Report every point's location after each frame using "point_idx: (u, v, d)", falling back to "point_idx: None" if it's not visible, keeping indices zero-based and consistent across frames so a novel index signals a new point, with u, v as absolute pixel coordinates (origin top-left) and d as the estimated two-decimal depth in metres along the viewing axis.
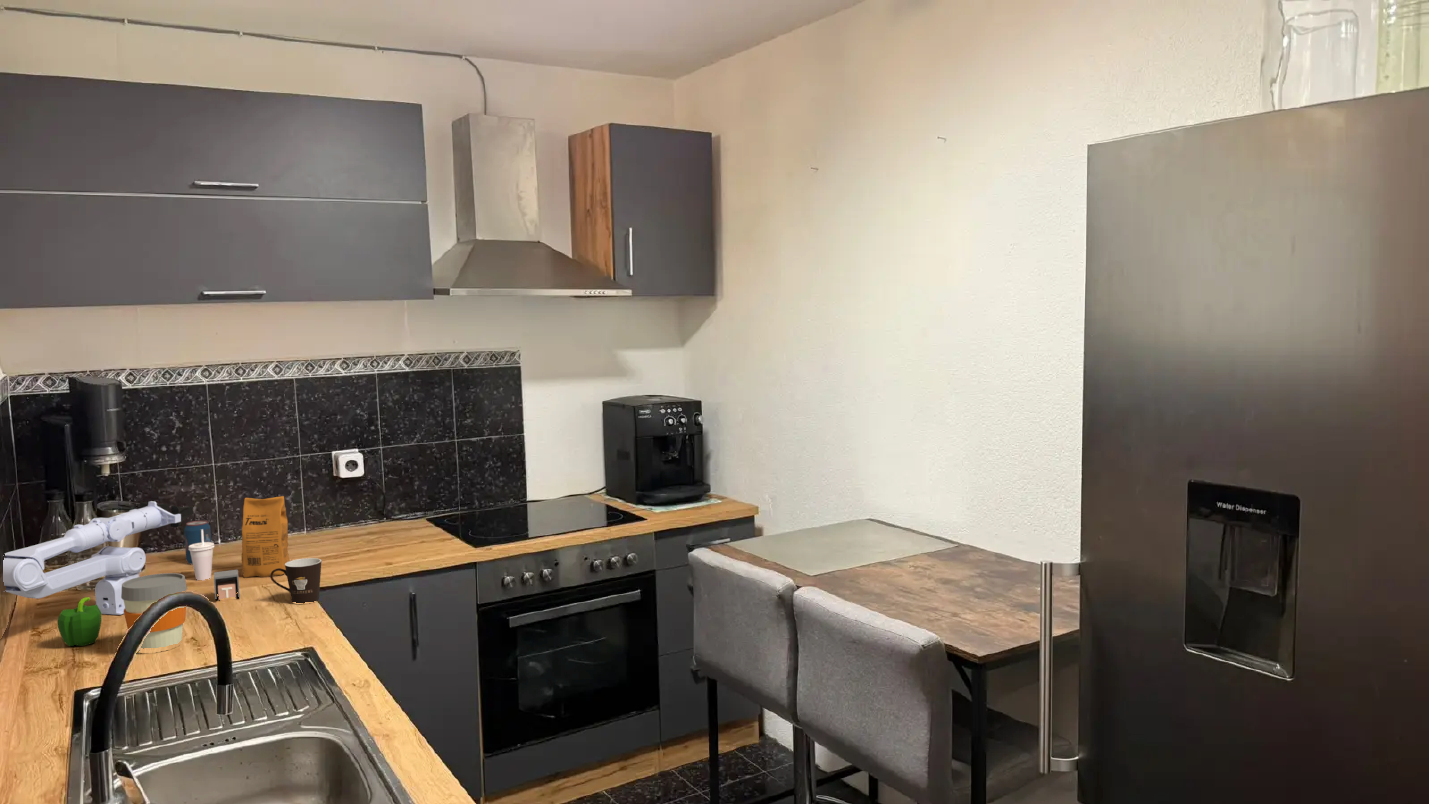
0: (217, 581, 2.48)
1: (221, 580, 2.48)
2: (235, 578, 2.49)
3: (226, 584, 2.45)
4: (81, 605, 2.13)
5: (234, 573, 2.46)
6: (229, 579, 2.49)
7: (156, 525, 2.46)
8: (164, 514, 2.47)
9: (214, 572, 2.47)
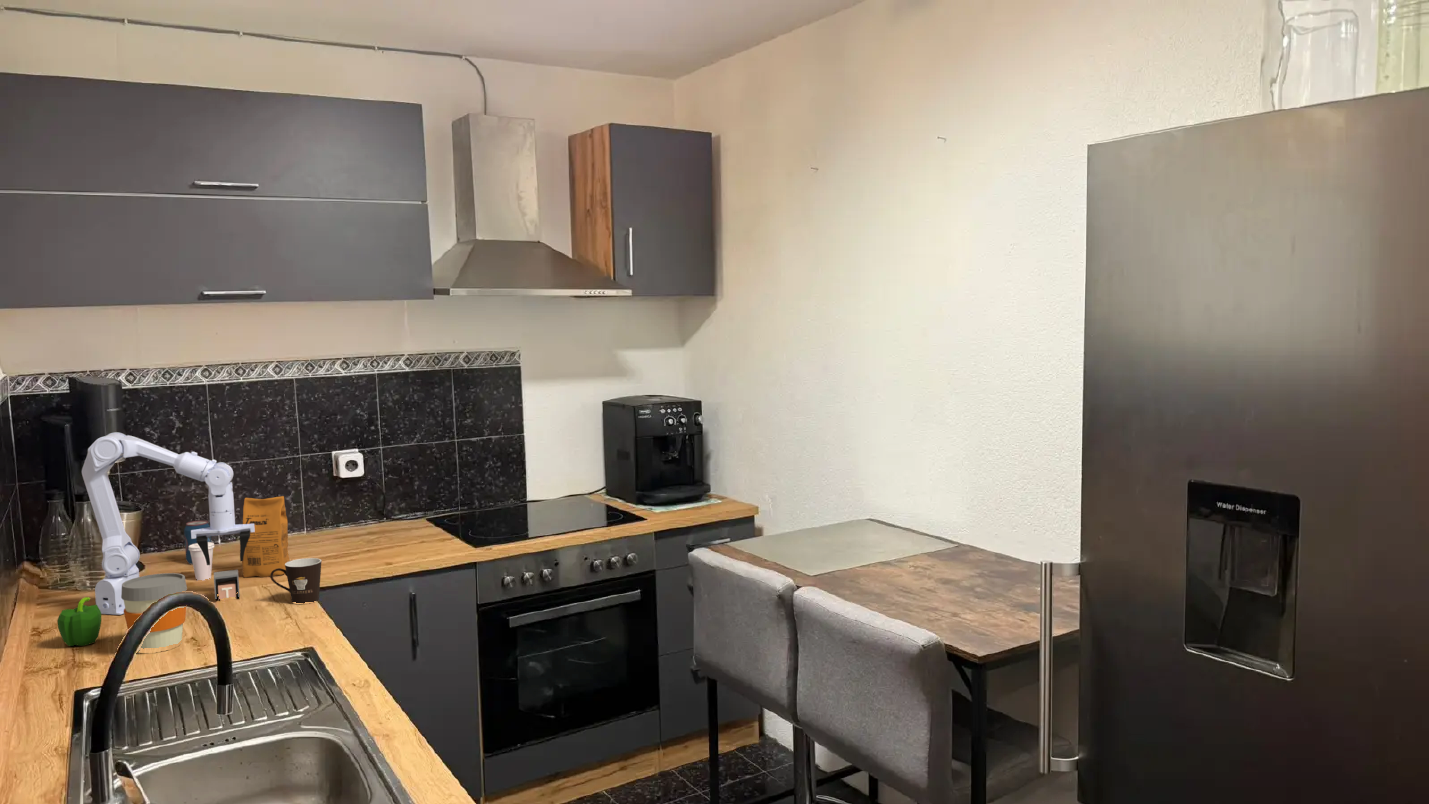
0: (217, 581, 2.48)
1: (221, 580, 2.48)
2: (235, 578, 2.49)
3: (226, 584, 2.45)
4: (81, 605, 2.13)
5: (234, 573, 2.46)
6: (229, 579, 2.49)
7: None
8: None
9: (214, 572, 2.47)
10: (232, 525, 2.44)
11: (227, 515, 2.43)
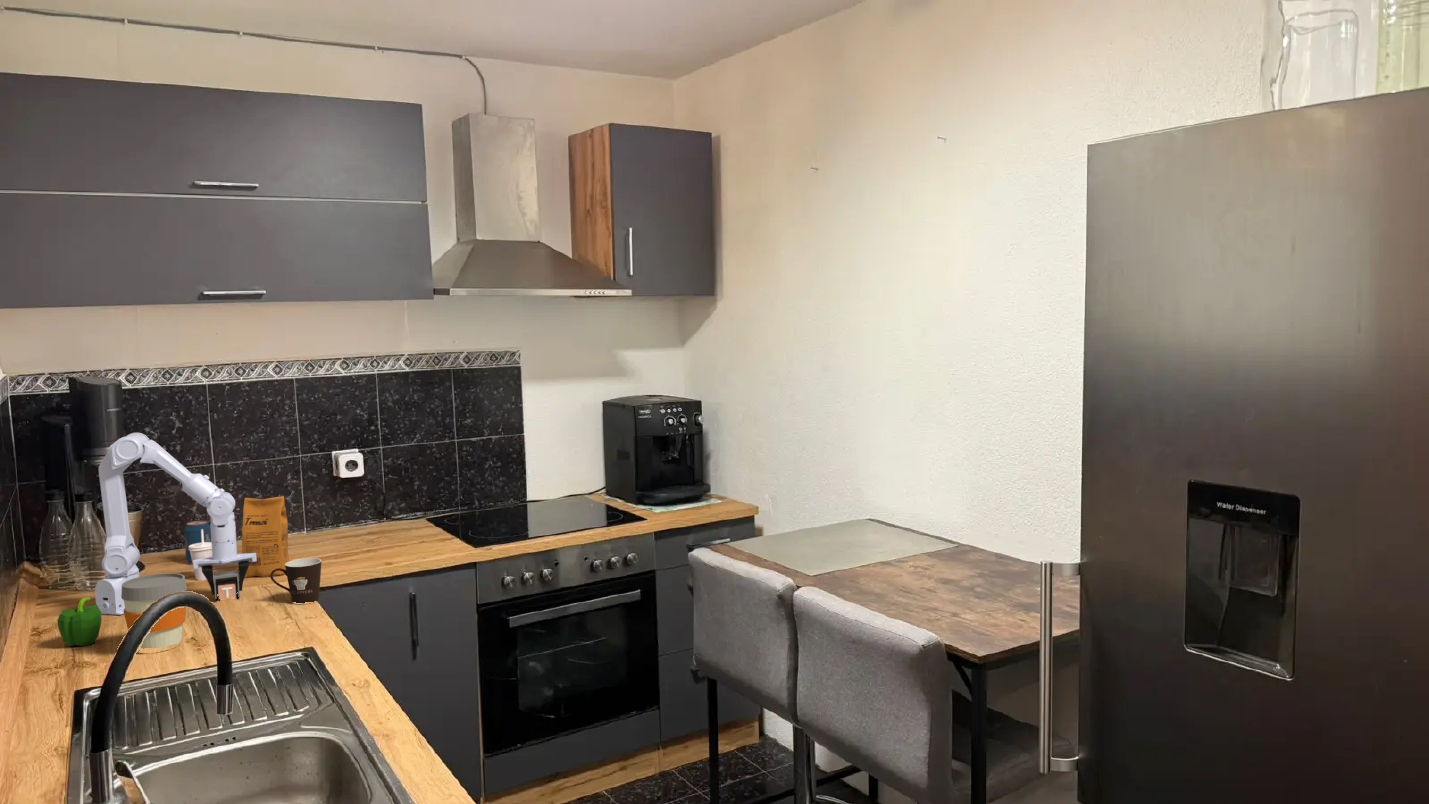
0: (217, 581, 2.48)
1: (221, 580, 2.48)
2: (235, 578, 2.49)
3: (226, 584, 2.45)
4: (81, 605, 2.13)
5: (234, 573, 2.46)
6: (229, 579, 2.49)
7: None
8: None
9: (214, 572, 2.47)
10: (234, 555, 2.45)
11: (229, 545, 2.44)
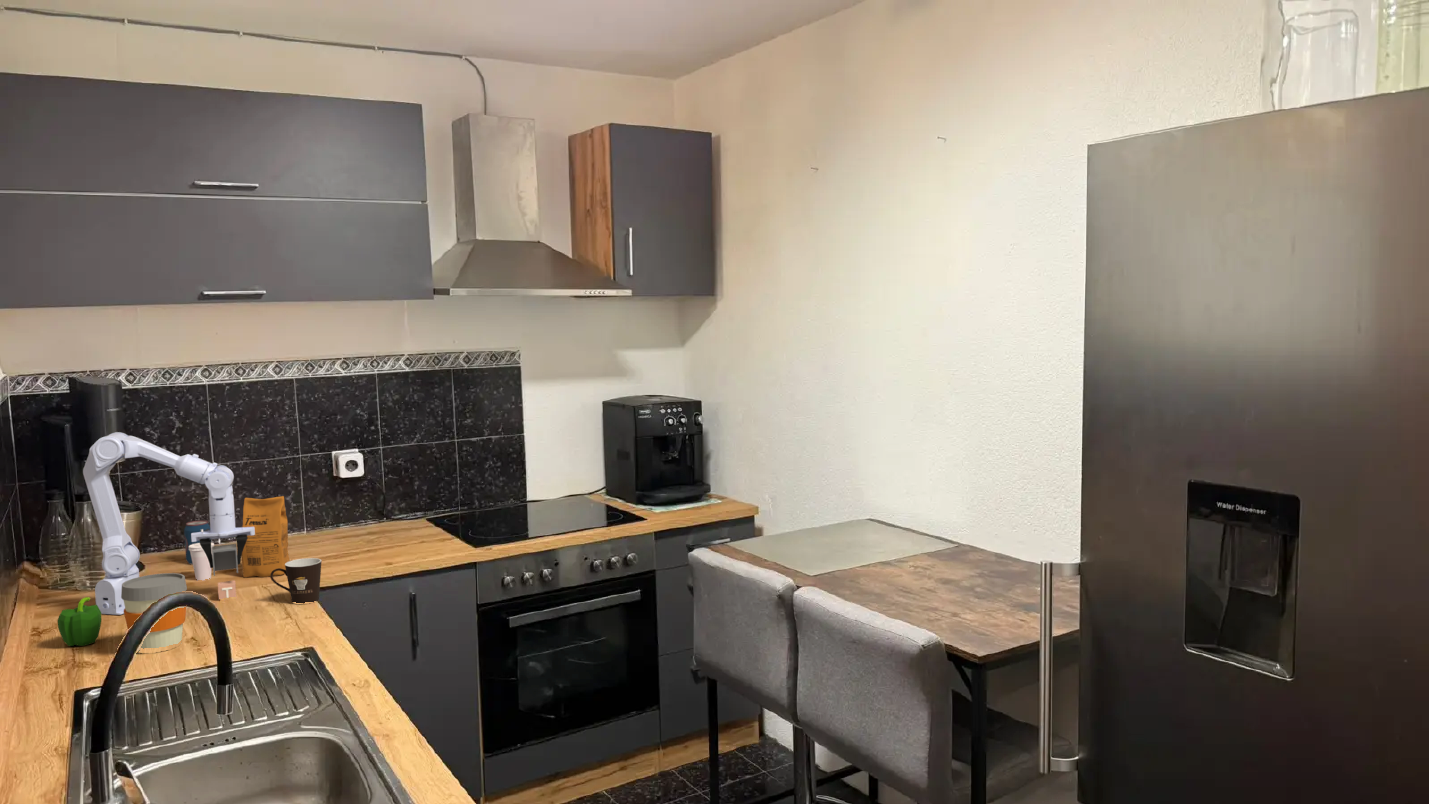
0: (215, 555, 2.47)
1: (219, 554, 2.47)
2: (233, 552, 2.49)
3: (226, 584, 2.45)
4: (81, 605, 2.13)
5: (232, 547, 2.45)
6: (227, 553, 2.48)
7: None
8: None
9: (212, 546, 2.46)
10: (232, 528, 2.44)
11: (227, 518, 2.43)
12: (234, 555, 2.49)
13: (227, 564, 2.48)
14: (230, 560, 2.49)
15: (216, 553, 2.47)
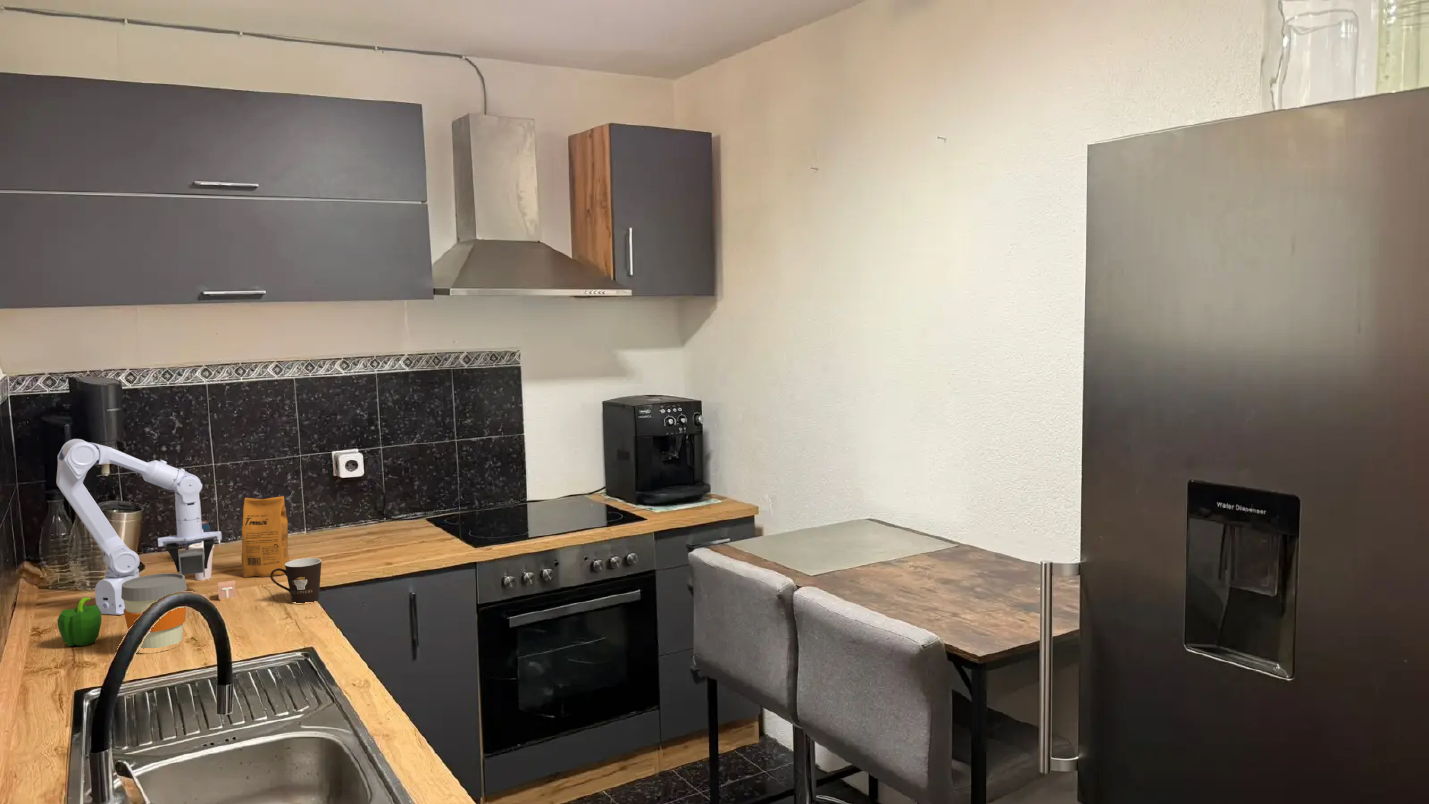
0: (182, 559, 2.50)
1: (186, 558, 2.51)
2: (201, 557, 2.52)
3: (226, 584, 2.45)
4: (81, 605, 2.13)
5: (199, 551, 2.49)
6: (195, 557, 2.52)
7: None
8: None
9: None
10: (199, 533, 2.48)
11: (194, 523, 2.46)
12: (201, 559, 2.52)
13: (195, 568, 2.52)
14: (197, 564, 2.52)
15: (183, 557, 2.50)
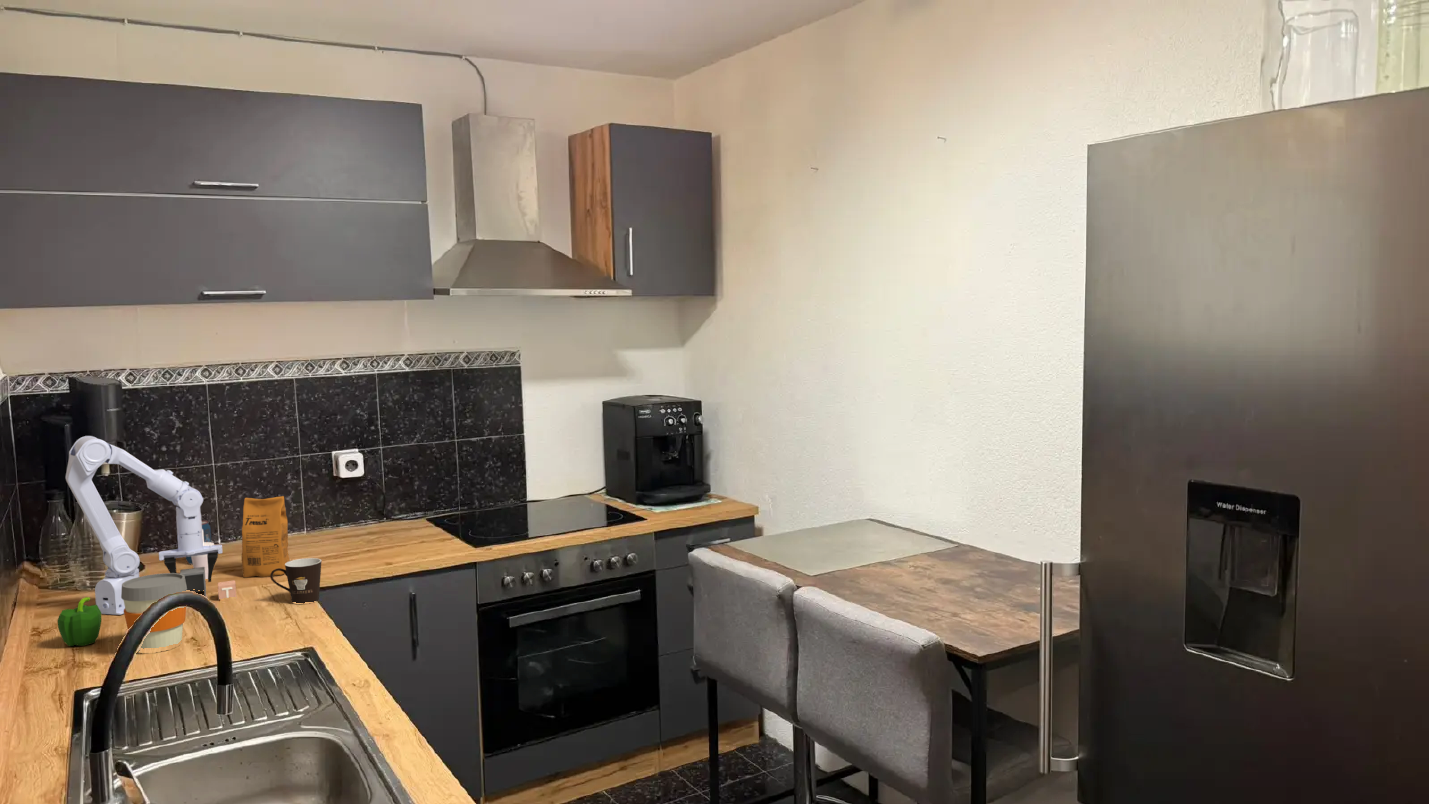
0: None
1: (188, 577, 2.51)
2: (202, 575, 2.53)
3: (226, 584, 2.45)
4: (81, 605, 2.13)
5: (200, 570, 2.49)
6: (196, 576, 2.52)
7: None
8: None
9: None
10: (199, 546, 2.48)
11: (195, 537, 2.47)
12: (202, 578, 2.53)
13: (196, 587, 2.52)
14: (198, 583, 2.52)
15: None
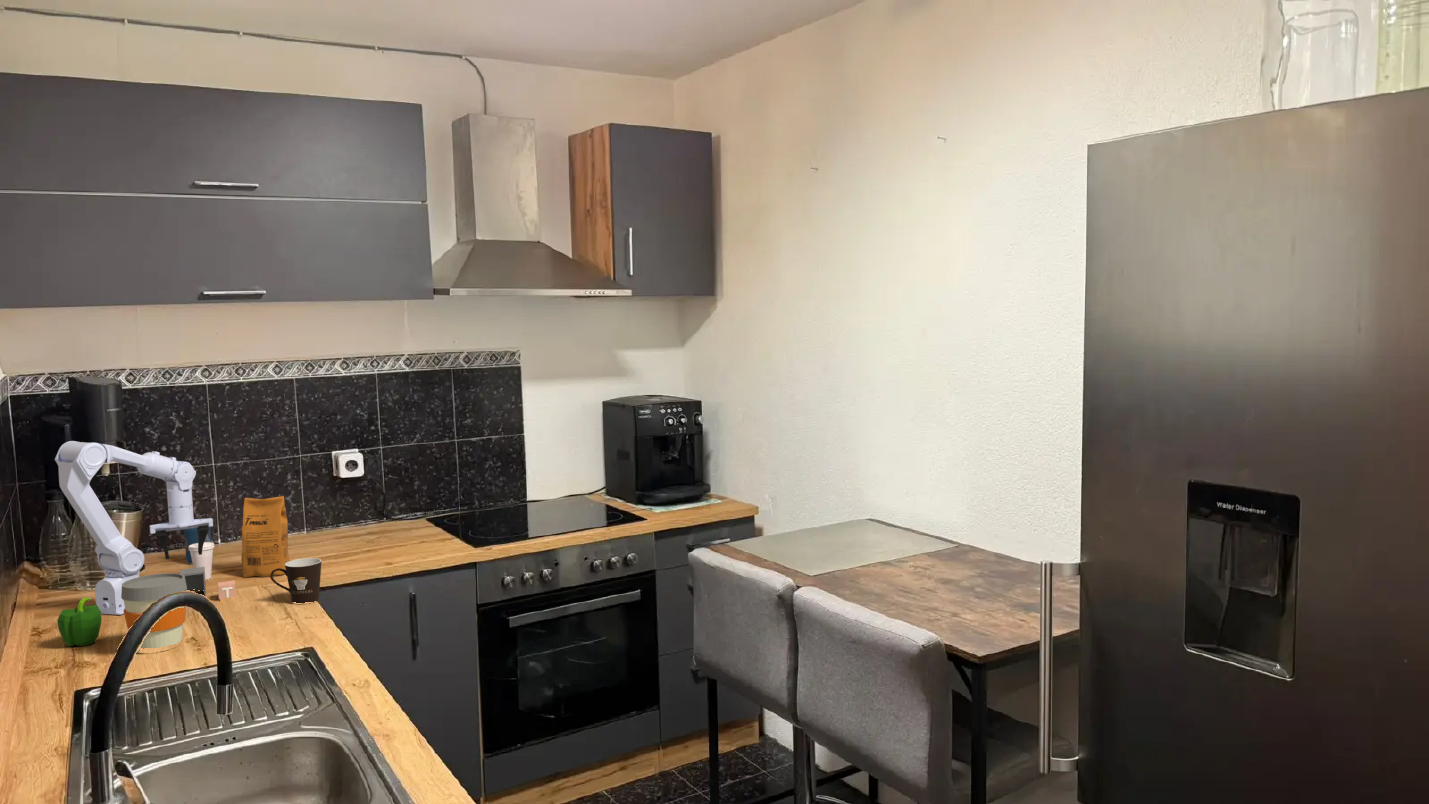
0: None
1: (188, 577, 2.51)
2: (202, 575, 2.53)
3: (226, 584, 2.45)
4: (81, 605, 2.13)
5: (200, 570, 2.49)
6: (196, 576, 2.52)
7: None
8: None
9: None
10: (191, 519, 2.52)
11: (186, 510, 2.50)
12: (202, 578, 2.53)
13: (196, 587, 2.52)
14: (198, 583, 2.52)
15: None
